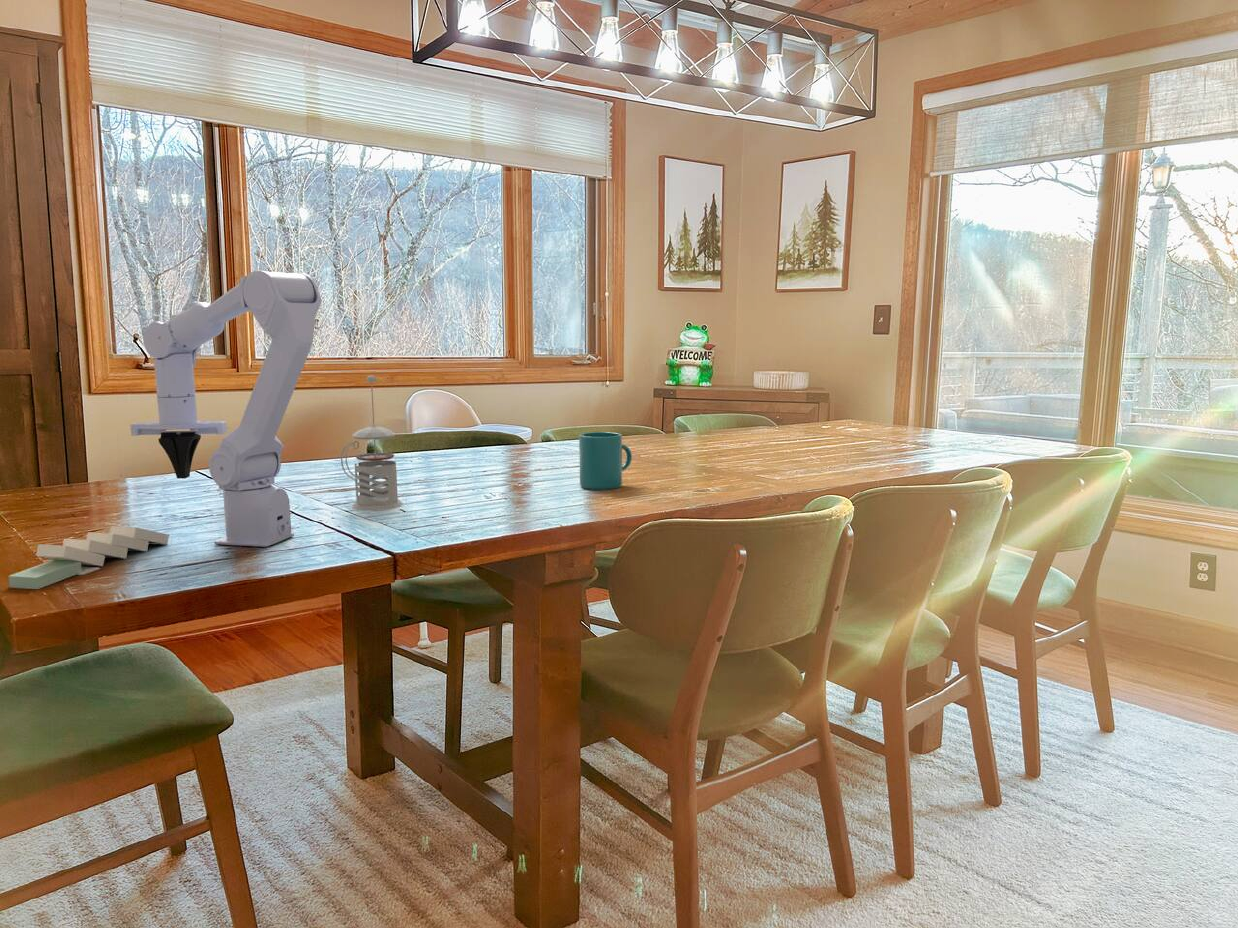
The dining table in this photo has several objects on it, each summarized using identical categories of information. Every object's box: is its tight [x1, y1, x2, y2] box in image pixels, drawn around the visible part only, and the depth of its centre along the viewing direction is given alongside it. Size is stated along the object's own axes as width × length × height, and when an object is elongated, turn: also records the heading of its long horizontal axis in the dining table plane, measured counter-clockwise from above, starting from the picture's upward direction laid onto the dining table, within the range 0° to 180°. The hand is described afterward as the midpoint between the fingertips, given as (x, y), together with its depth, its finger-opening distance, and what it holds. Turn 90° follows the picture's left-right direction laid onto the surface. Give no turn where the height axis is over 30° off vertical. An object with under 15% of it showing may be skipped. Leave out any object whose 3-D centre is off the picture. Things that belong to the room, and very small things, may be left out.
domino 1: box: [8, 559, 82, 590], centre depth 122 cm, size 2×4×8 cm
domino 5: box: [109, 525, 170, 545], centre depth 139 cm, size 2×4×8 cm
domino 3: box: [62, 538, 129, 559], centre depth 131 cm, size 2×4×8 cm
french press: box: [340, 375, 404, 512], centre depth 170 cm, size 10×12×25 cm
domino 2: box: [35, 543, 106, 567], centre depth 126 cm, size 2×4×8 cm
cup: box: [578, 431, 633, 491], centre depth 190 cm, size 9×12×11 cm
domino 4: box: [85, 531, 149, 552], centre depth 135 cm, size 2×4×8 cm
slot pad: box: [76, 566, 101, 576], centre depth 127 cm, size 6×3×1 cm, turn 78°
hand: (183, 477), depth 149 cm, fingers closed
